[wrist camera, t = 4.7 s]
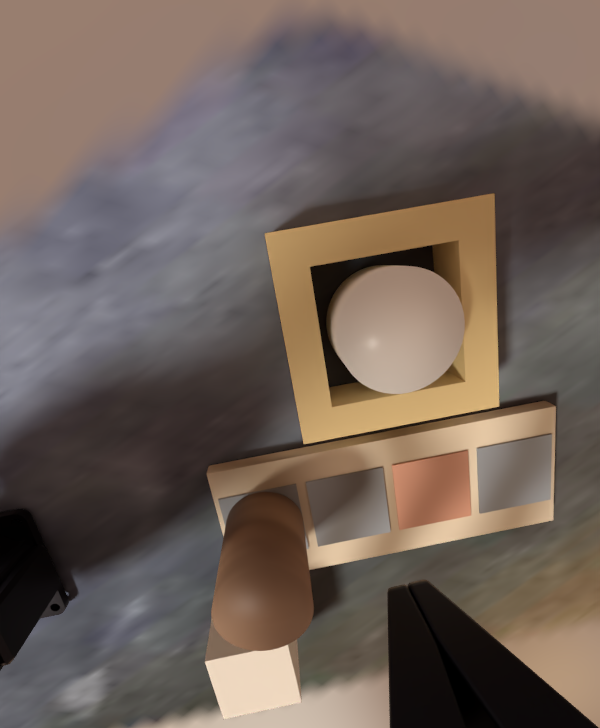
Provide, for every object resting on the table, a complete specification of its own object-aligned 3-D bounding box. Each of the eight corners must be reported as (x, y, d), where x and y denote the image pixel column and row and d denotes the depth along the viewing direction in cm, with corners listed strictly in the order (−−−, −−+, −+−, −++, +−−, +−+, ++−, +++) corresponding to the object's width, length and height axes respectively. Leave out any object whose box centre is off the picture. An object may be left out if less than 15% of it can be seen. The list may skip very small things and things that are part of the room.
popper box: (299, 421, 19) (303, 444, 17) (265, 237, 17) (264, 233, 14) (470, 388, 19) (499, 406, 17) (462, 202, 17) (494, 193, 14)
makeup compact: (237, 573, 21) (236, 586, 20) (209, 465, 19) (206, 475, 19) (543, 510, 22) (554, 521, 21) (544, 400, 20) (557, 406, 19)
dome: (334, 381, 18) (347, 404, 15) (318, 275, 17) (329, 279, 14) (435, 361, 18) (467, 381, 15) (428, 255, 17) (461, 255, 14)
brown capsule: (234, 563, 20) (223, 659, 15) (218, 499, 19) (201, 581, 14) (308, 549, 20) (320, 640, 15) (296, 485, 19) (305, 562, 14)
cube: (231, 641, 23) (223, 719, 19) (216, 590, 22) (204, 661, 18) (296, 627, 23) (301, 702, 19) (284, 576, 22) (287, 644, 18)
